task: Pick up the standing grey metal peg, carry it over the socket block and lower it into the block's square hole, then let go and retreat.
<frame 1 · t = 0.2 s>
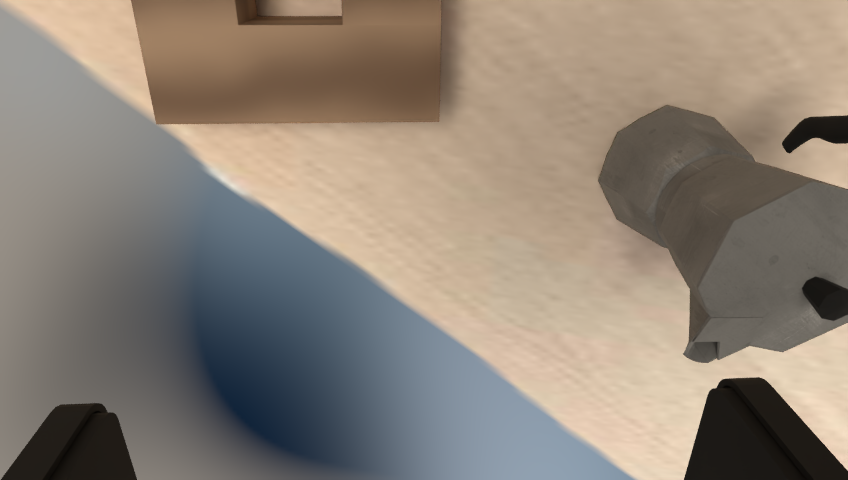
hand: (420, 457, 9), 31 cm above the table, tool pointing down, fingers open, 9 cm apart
coffeepot: (671, 156, 41), on the table
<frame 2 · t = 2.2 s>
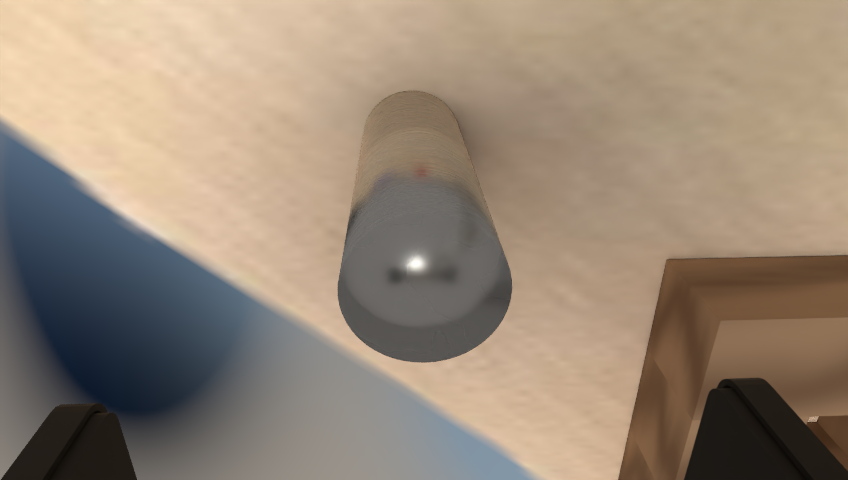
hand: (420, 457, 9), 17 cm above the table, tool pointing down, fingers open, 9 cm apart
socket block: (783, 385, 31), on the table
peg: (411, 139, 24), on the table
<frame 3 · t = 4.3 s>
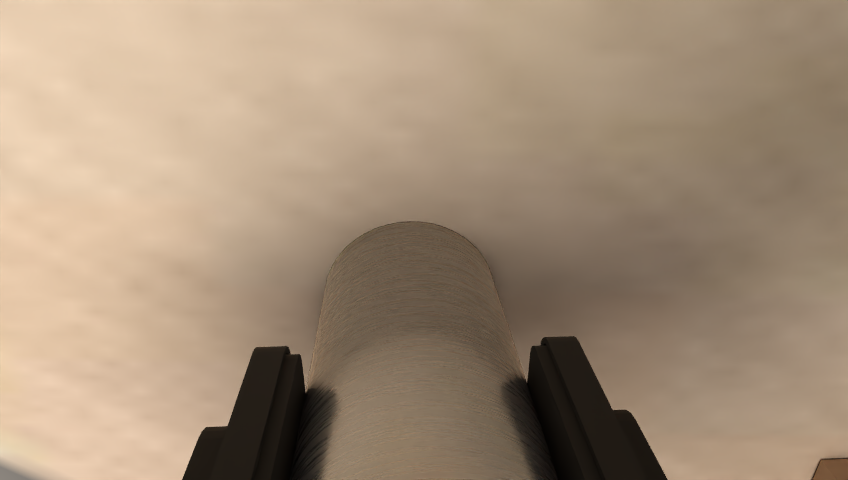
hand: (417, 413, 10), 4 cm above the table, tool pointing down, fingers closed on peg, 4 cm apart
peg: (410, 298, 14), on the table, touching gripper
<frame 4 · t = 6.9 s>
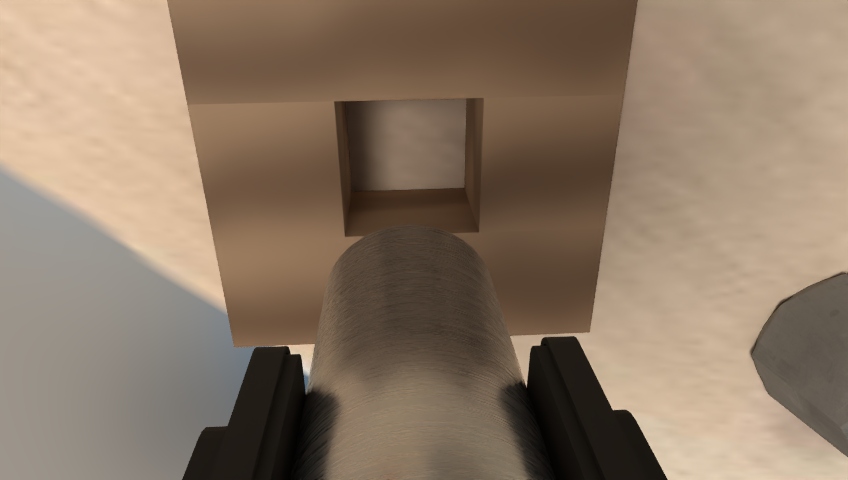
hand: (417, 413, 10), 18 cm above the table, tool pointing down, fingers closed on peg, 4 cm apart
coffeepot: (840, 323, 33), on the table
socket block: (407, 134, 27), on the table
peg: (409, 301, 14), point 15 cm above the table, touching gripper
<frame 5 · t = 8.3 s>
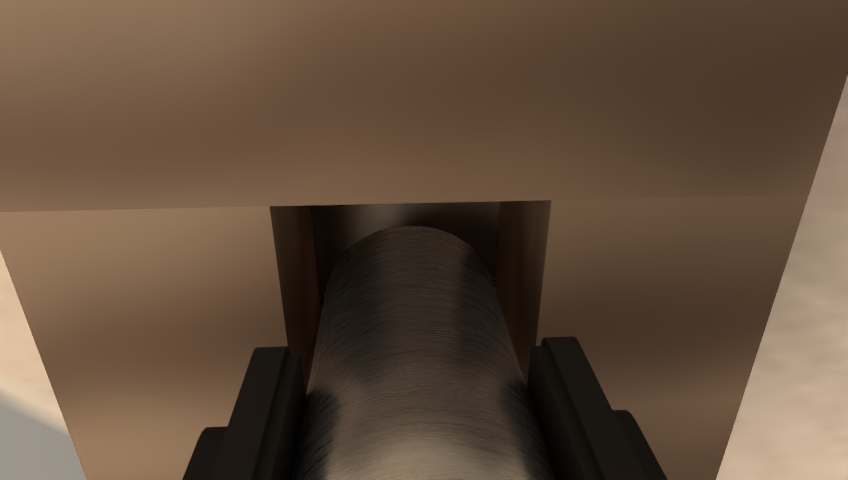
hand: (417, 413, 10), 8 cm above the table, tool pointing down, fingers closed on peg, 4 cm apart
socket block: (406, 222, 17), on the table
peg: (410, 301, 14), point 4 cm above the table, touching gripper
when the fingers open (6 cm above the table, at t = 9.6 s): peg drops 2 cm, resting in socket block.
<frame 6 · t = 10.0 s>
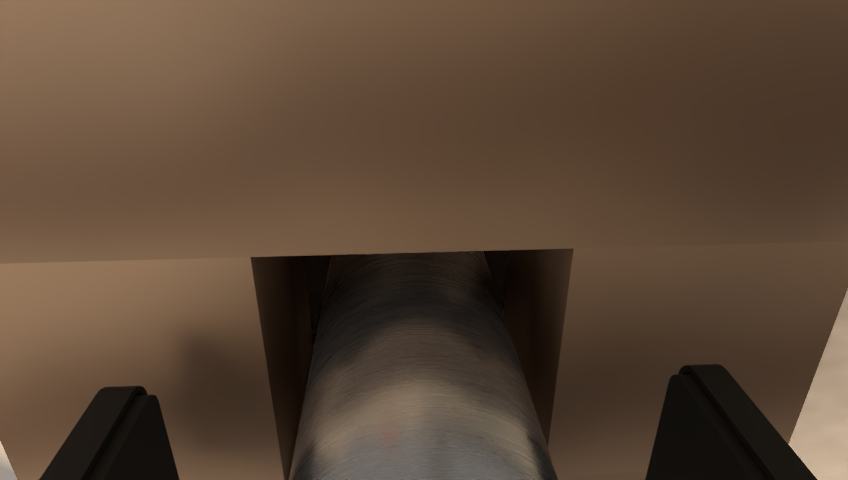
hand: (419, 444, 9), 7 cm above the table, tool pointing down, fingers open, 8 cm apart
socket block: (407, 257, 15), on the table
peg: (407, 257, 15), resting in socket block
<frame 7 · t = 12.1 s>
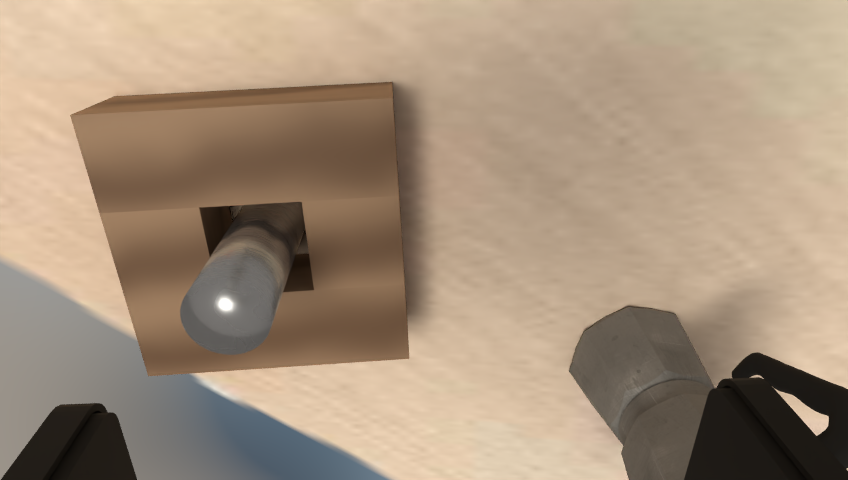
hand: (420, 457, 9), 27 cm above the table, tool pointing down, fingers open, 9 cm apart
coffeepot: (638, 345, 43), on the table
socket block: (275, 216, 37), on the table
peg: (275, 216, 37), resting in socket block
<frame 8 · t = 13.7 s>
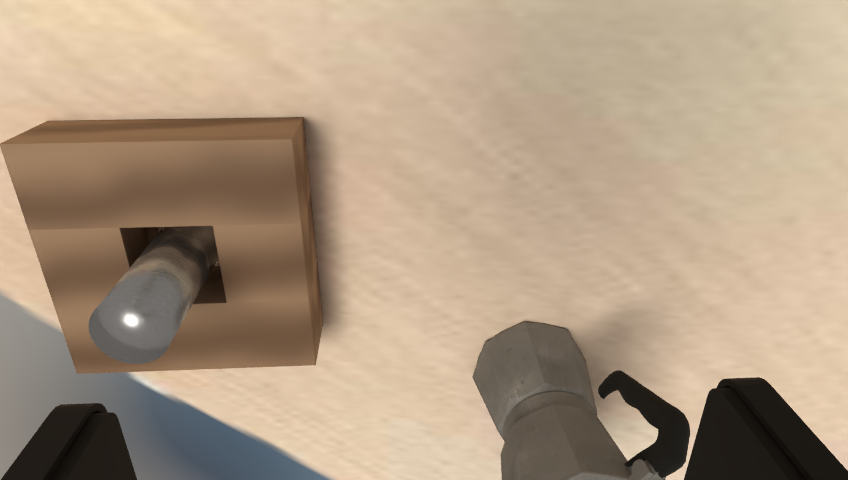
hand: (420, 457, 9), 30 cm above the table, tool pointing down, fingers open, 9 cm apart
coffeepot: (536, 355, 47), on the table
socket block: (198, 232, 40), on the table
peg: (198, 232, 40), resting in socket block
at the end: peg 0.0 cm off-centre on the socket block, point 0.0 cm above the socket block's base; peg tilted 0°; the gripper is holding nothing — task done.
